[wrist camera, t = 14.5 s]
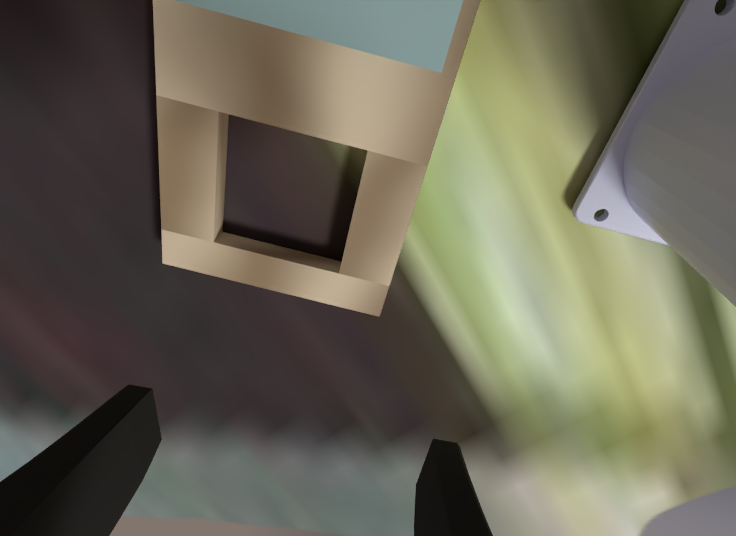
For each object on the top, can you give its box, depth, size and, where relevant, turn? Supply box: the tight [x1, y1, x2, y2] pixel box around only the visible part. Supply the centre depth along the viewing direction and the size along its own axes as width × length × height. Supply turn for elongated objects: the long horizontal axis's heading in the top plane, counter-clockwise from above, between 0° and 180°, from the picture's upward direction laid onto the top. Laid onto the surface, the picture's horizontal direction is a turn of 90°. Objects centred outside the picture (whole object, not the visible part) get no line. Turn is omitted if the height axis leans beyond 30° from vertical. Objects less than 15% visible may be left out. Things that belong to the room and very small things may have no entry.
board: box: [153, 0, 480, 317], centre depth 15 cm, size 10×16×1 cm, turn 167°
